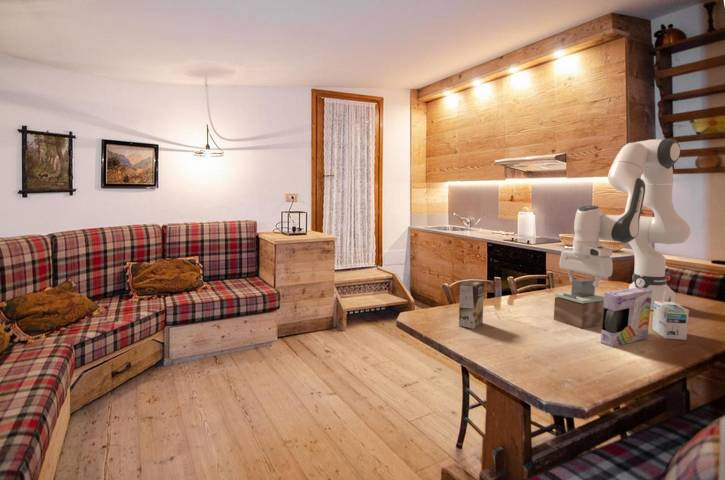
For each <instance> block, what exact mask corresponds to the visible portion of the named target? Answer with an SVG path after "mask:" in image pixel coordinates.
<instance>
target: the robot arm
mask: <svg viewBox="0 0 725 480" xmlns="http://www.w3.org/2000/svg"><path fill="white" fill-rule="evenodd" d="M680 156H681V145H680V143H679V142H678V141H677V140H676V139H673V138H663V139H660V138H659V139H658V138H657V139H654V138H653V139H647V140H640V141H631V142H627V143H625V144H623V145H622V146H621V147H620V148H619V150H618V152H617V155H616V157H615V158H614V159H613V162H612V164H611V166H610V168H609V171H608V174H607V179H608V182H609V184H610V185H611V186H612V187H613V188H614V189H616V190H617V191H619V192H622V193H624V194H626V195H628V196H627V198H626V199H627V200H626V205H625V207H624V212H623V213H622V214H606V213H603V212H602V211H601V209H600V206H597V205H585V206H584V205H583V206H581V207H579V208H577V210H576V212H575V215H574V216H575V217H574V224H573V231H574V237H573V242H572V246H568V245H565V246H564V247H562V248H561V254H560V258H559V264H558V265H559V269H560V270H565V271H567V275H568V276H569V282H570V283H572V280H575V279H577V277H575V275H574V273H575V272H576V273H581V274H587V275H591V276H592V275H593V276H594V280H595V281H594V282H592V287H595V288H598V287H599V283H600V281H601V280H602V279H603V278H609V277H611V276H612V275H613V268H614V267H613V262H614V261H613V259H612V255H613V250H611V249H610V248H607V247H605V246H604V245H602V244H600V240H606V241H613V242H614V241H615V242H619V243H624V244H627V243H628V245H629V246H630V248H631V249H632V252H633V255H634V270H633V273H632V276H631V277H632V282H631V283H630V284H629V286H628V289H632V288H638V287H643V288H647V289H650V290H652V298H651V307H650V311H654V301H661V302H674V303H676V304H678V305H680V306H682V304H681V303H680V302H676V301H675V299H676V292H675V291H673V290H672V288H670V287H669V285H667V284H668V281H670V280H671V276H670V275H666V266H667V265H666V264H667V259H666V257H665V256H664V255H663V254H662V253H661V252H659V251H657V250H656V249H655V248H653V246H652V245H653V244H663V245H664V244H665V245H675V244H676V245H677V244H684V243H685V242H687V240H688V238H690V235H691V227H690V224H689V223H688V222H687V221H686V220H685V219H684V218H682V217H681V216H680V215H679V214H678V212H677V211H676V210H675V207H674V204H673V185H674V184H673V183H674V169H673V166H674V165H675V164H676V162H677V161H678V160H679V159H680ZM643 206H644V207H645V208H647V209H649V210H651V211H652V212H653V214H654V215H653V216H642V208H643ZM652 243H653V244H652Z"/></svg>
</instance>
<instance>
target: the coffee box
mask: <svg viewBox="0 0 725 480" xmlns="http://www.w3.org/2000/svg"><path fill="white" fill-rule="evenodd" d="M484 293H485V282H484V281H478V280H467V281H465V282H462V283H460V284H459V305H458V309H459V311H458V326H459V327H463V328H468V329H473V330H474V329H476V328H478V327H479V326H480V325H481V324H483V321H484V320H483V319H484V300H485V299H484V298H485V295H484Z"/></svg>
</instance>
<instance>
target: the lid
mask: <svg viewBox="0 0 725 480" xmlns="http://www.w3.org/2000/svg"><path fill="white" fill-rule="evenodd" d="M554 297H560V298H564V299H567V300H571V301H575V302H579V303H582V304H583V303H590V302H597V301H604V294H600V293H597V292H596V293H595V294H594V296H587V297H577V296H573V295H571V291H565V292H559V293H554Z"/></svg>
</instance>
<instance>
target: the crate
mask: <svg viewBox="0 0 725 480" xmlns="http://www.w3.org/2000/svg"><path fill="white" fill-rule="evenodd" d="M553 305H554V307H553V308H554V309H553V320H554V321H557V322H560V323H563V324H566V325H569V326H572V327H575V328H578V329H586V328H590V327H596V326H599V325H602V319H603V306H604V301H597V302H590V303H583V304H582V303H579V302H575V301H571V300H567V299H564V298H560V297H556V296H554V304H553Z"/></svg>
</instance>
